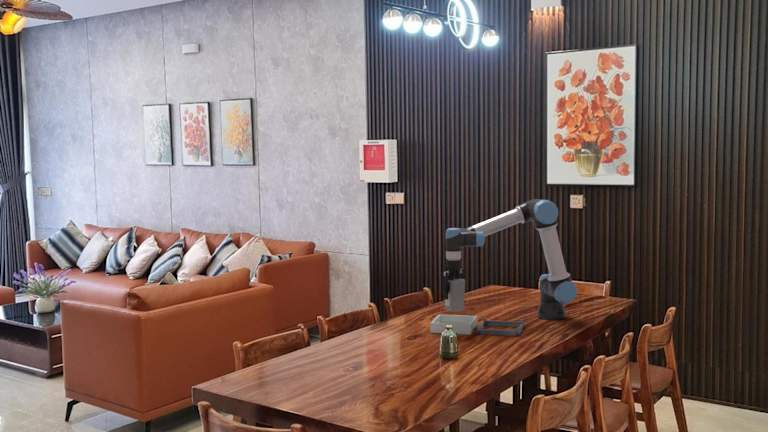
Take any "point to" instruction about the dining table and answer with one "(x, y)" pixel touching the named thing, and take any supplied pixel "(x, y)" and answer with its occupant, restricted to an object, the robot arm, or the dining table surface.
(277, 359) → the dining table surface
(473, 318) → the bin
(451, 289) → the skincare box
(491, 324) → the frame
